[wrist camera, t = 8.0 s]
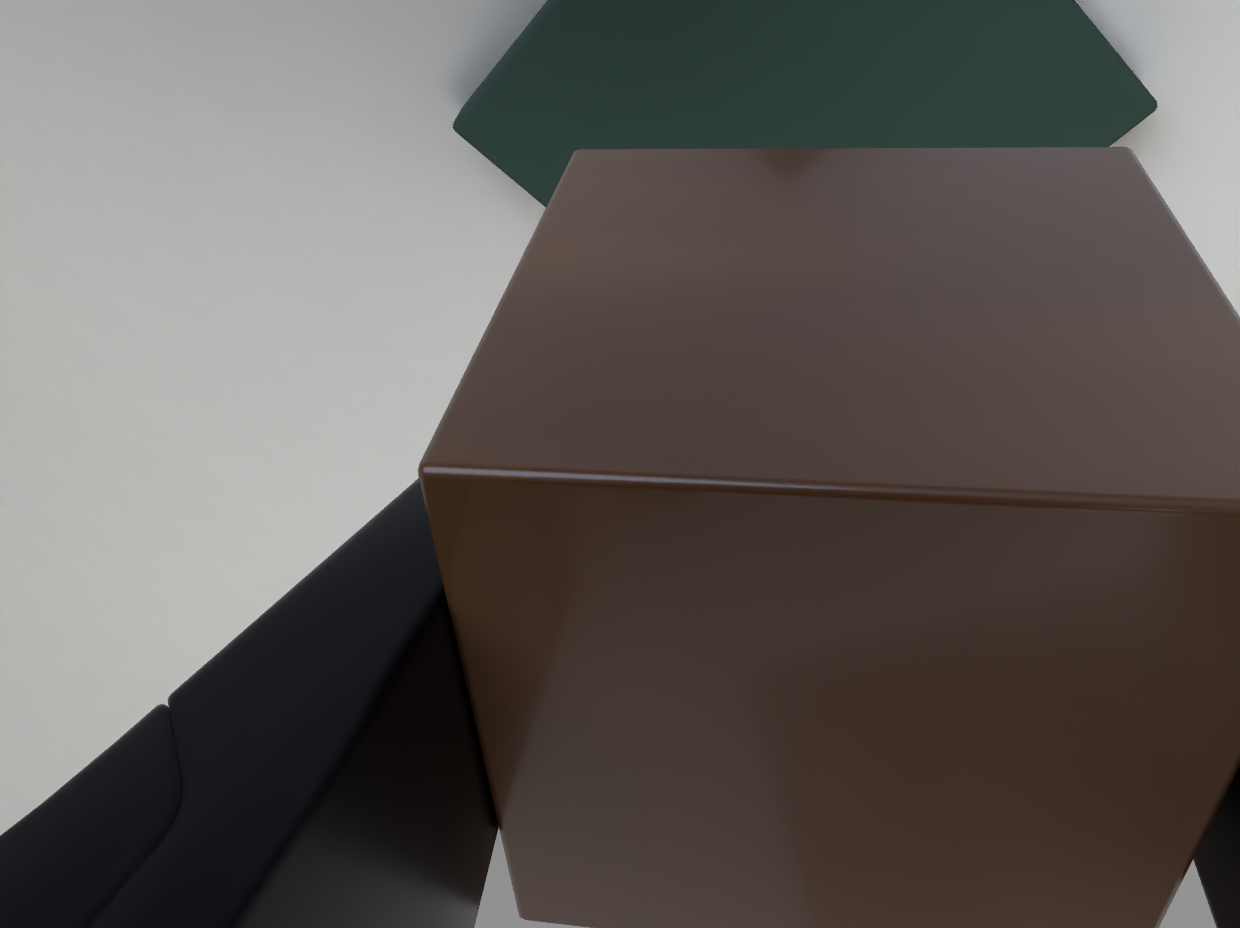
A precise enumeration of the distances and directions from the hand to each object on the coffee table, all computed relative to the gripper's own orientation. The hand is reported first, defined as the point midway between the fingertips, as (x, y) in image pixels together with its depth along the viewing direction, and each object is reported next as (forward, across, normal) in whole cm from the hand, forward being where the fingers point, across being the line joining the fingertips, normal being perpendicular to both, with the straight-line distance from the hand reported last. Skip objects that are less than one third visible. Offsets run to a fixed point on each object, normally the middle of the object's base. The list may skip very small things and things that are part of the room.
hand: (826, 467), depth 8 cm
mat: (+9, 0, 0) cm, 9 cm away
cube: (+2, 0, 0) cm, 2 cm away
